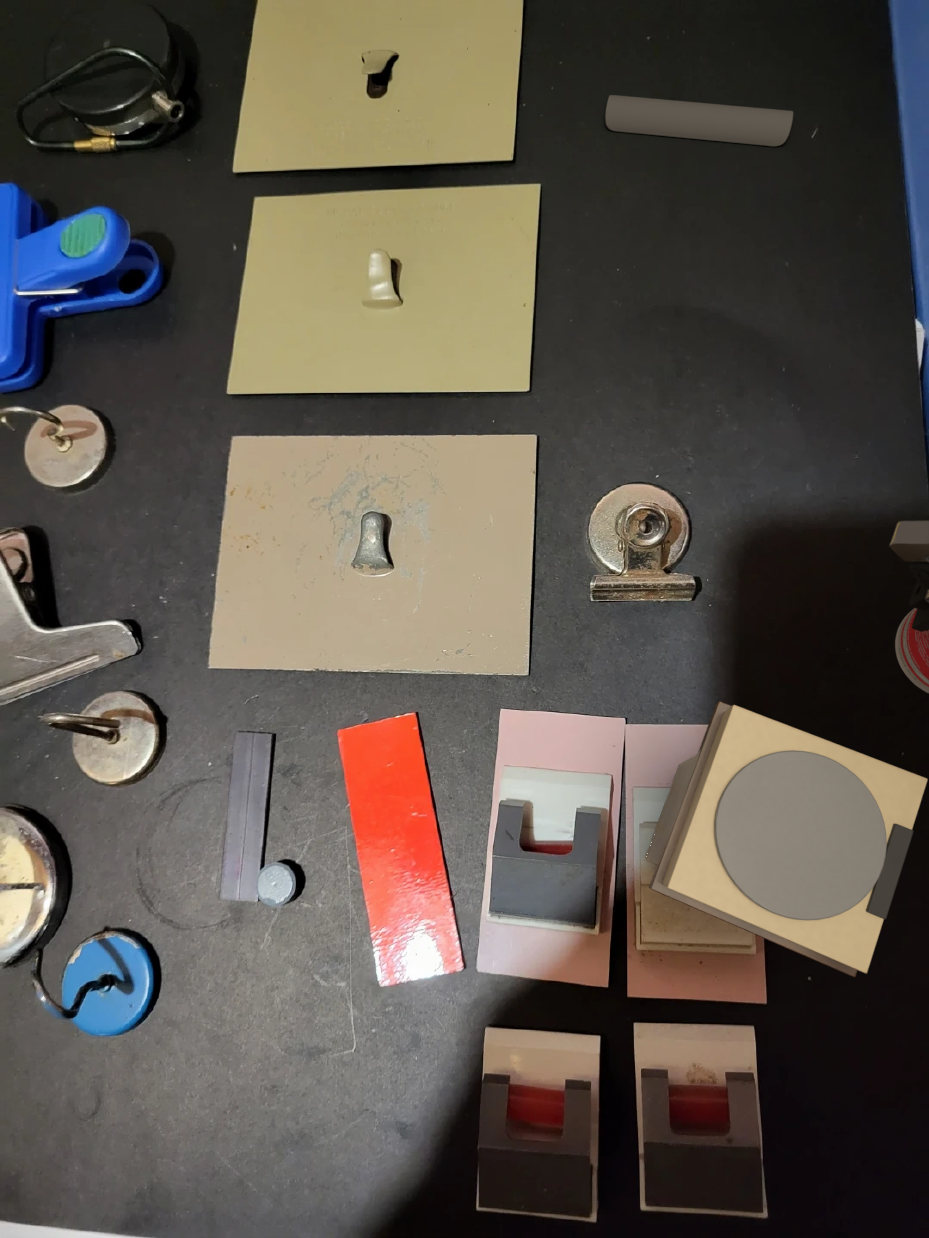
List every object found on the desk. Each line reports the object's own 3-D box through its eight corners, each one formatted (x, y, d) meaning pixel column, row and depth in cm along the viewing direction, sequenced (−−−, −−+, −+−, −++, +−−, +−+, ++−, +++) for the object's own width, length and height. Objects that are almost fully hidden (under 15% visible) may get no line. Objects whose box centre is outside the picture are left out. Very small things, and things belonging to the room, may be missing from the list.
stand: (799, 794, 77) (918, 776, 51) (754, 925, 75) (855, 977, 49) (668, 742, 79) (719, 700, 53) (622, 868, 77) (650, 888, 51)
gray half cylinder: (609, 99, 96) (610, 85, 94) (791, 115, 93) (795, 101, 91) (602, 131, 95) (603, 118, 93) (786, 148, 92) (790, 135, 90)
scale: (907, 781, 51) (932, 778, 47) (849, 965, 49) (870, 975, 45) (724, 711, 53) (735, 702, 49) (661, 884, 51) (668, 888, 47)
